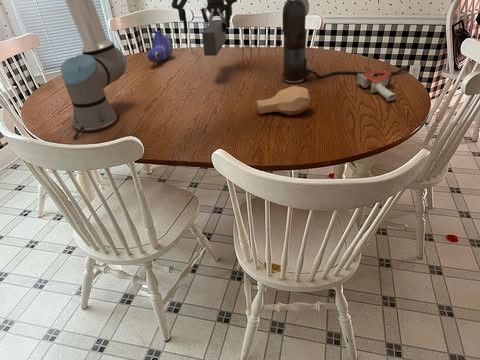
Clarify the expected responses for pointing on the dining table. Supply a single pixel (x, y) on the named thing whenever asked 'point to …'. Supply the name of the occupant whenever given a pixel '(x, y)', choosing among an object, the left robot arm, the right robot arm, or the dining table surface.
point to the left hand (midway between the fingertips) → (207, 29)
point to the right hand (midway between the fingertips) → (218, 31)
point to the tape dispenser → (377, 83)
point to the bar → (213, 38)
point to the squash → (286, 101)
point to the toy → (160, 47)
